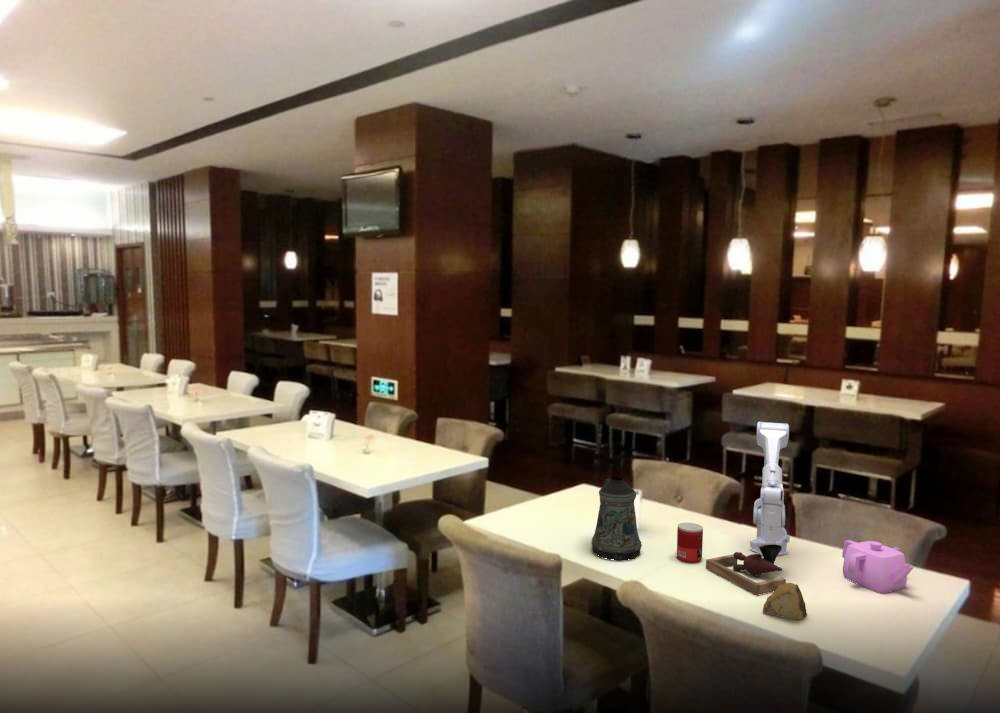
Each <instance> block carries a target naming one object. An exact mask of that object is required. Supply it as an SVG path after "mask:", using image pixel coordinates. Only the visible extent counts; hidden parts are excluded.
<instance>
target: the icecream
mask: <svg viewBox="0 0 1000 713" xmlns="http://www.w3.org/2000/svg"><path fill="white" fill-rule="evenodd" d="M733 554H734V558H736V559H737V561H738V560H739V561H741V562H742V561H743V562H742V564H740V563H737V564H736V565H734V566H732V568H733V571H734V572H743V571H746V572H747V573H748V574H749V575H752V576H754V577H757V578H760V576H761V575H762V574H767V573H774V572H780V571H783V568H782V567H780V566H778V565H776V564H775V563H774V564H773V563H771V562H769V561H767V560H765V559H763V555H760V554H758V553H752V554H748V555H745V554H743V552H741V551H740V552H739V551H735V552H734V553H733Z"/></svg>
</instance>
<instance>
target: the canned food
mask: <svg viewBox="0 0 1000 713" xmlns="http://www.w3.org/2000/svg"><path fill="white" fill-rule="evenodd" d="M703 528H704V527H703V526H702V525H700V524H698V523H694V522H679V523H678V524H677V531H676V533H677V534H676V535H677V536H676V537H677V538H676V557H677V559H678V560H679V561H680V562H683V563H687V564H697V563H700V562H701V561H702V559H703V543H704V542H703V541H704V540H703V539H704V538H703V536H704V529H703Z"/></svg>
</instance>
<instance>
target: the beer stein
mask: <svg viewBox="0 0 1000 713" xmlns="http://www.w3.org/2000/svg"><path fill="white" fill-rule="evenodd" d="M598 496H599V508H598V514H597V515H598V516H597V522H596V526H595V529H594V534H593V536H592V538H591V547H592V551H593V553H595V554H594V555H596V554H597V555H599V556H601V557H603V558H607V559H614V560H628V559H634V560H636V559H637V558H638V557H639V556H640V555H641V549H642V541H641V539H640V535H639V532H638V531H639V530H638V526H637V516H636V508H635V500H636V498H637V492H636V491H635V489H634V488H633V487H631V486H630V485H629V484H628V483H627V482H626V481H625V479H624V478H623V477H621V476H615V475H614V476H613V475H612V476H611V477H610V478H605V479H604V481H603V485H602V487H601V488H600V489H599V490H598ZM597 555H596V556H597ZM637 556H638V557H637ZM601 557H600V558H601ZM636 557H637V558H636ZM603 558H602V559H603ZM635 558H636V559H635ZM607 559H606V560H607ZM628 561H629V560H628Z"/></svg>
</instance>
